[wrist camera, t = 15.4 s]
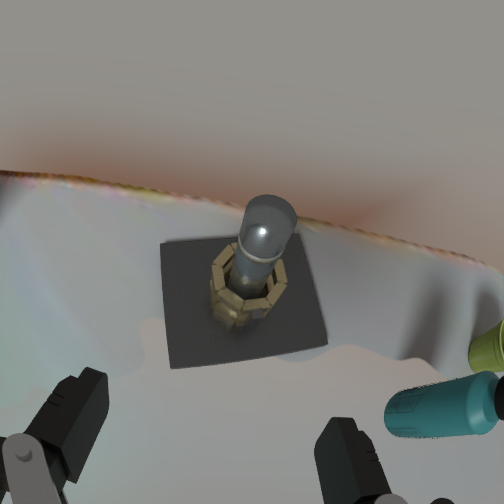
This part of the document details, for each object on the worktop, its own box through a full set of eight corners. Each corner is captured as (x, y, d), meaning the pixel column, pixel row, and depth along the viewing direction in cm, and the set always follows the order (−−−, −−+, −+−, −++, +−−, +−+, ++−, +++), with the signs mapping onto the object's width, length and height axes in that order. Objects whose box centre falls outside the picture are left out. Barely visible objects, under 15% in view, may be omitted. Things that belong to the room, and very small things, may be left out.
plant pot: (472, 394, 34) (512, 384, 26) (454, 346, 37) (494, 329, 30) (496, 365, 36) (532, 352, 29) (480, 321, 40) (515, 304, 33)
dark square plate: (171, 369, 30) (164, 361, 24) (160, 248, 37) (155, 216, 31) (324, 346, 34) (350, 332, 28) (296, 238, 41) (313, 208, 35)
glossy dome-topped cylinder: (227, 312, 33) (249, 240, 19) (223, 282, 35) (240, 195, 21) (260, 308, 34) (303, 236, 20) (254, 279, 36) (290, 193, 22)
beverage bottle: (386, 446, 29) (515, 448, 12) (367, 406, 31) (498, 386, 14) (420, 419, 31) (542, 399, 14) (403, 380, 34) (526, 342, 16)
